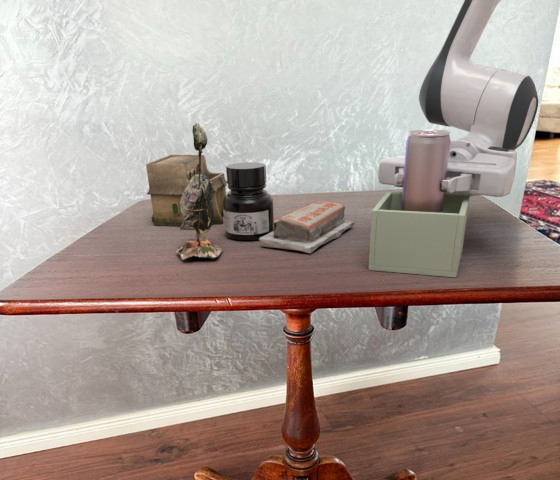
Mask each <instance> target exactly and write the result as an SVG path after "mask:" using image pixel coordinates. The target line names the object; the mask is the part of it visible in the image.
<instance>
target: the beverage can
mask: <svg viewBox="0 0 560 480" xmlns="http://www.w3.org/2000/svg"><path fill="white" fill-rule="evenodd" d="M451 141H452V140H451V131H449V130H445V129H416V130H410V131H408V133H407V139H406V142H405V152H404V153H405V154H404V155H405V165H404V178H403V187H402V190H401V192H402V203H401V211H417V212H437V213H442V210H443V201H444V193H445V192H441V187H442V185H441V183H442V180H443V179H445V178H446V176H447V167H448V159H449V150H450V142H451Z"/></svg>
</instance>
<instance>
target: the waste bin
mask: <svg viewBox="0 0 560 480" xmlns="http://www.w3.org/2000/svg"><path fill="white" fill-rule="evenodd" d="M470 198H471V196H470V195H455V194H444V201H443V210H442V213H437V212H417V211H401V203H402V191H387V192H386V193H385V194H384V195H383V196H382V198H381V199H380V200H379V201H378V203H376V205H375V206H374V207H372V209H371V212H370V213H371V215H370V231H369V250H368V251H369V252H368V255H369V256H368V271H375V272H386V273H398V274H409V275H421V276H431V277H432V276H433V277H443V278H444V277H445V278H454V279H456V278H457V277H458V276H457V275H458V271H459V267H460V263H461V258H462V253H463V249H464V241H465V234H466V227H467V221H468V220H467V219H468V215H469V214H468V212H469V205H470Z"/></svg>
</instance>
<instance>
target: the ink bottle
mask: <svg viewBox="0 0 560 480" xmlns="http://www.w3.org/2000/svg"><path fill="white" fill-rule="evenodd" d="M225 171H226V181H227V189H228V190H229V191H228V192H227V194H226V196H225V197H224V199H223V213H224V216H223V225H224V231H225V236H226V237H227V238H229V239H232V240H238V241H258V240H259V238H260V237H263V236H264V235H267V234H268V233H271V232H273V223H274V220H275V219H274V200H273V199H274V198H273V195H271V194H270V193H269V192H268V191H267V189H265V188H266V187H267V167H266V163H262V162H257V161H256V162H255V161H251V162H250V161H249V162H248V161H244V162H236V163H230V164H227V165H226V166H225Z"/></svg>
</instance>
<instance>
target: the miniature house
mask: <svg viewBox="0 0 560 480" xmlns="http://www.w3.org/2000/svg"><path fill="white" fill-rule="evenodd" d="M206 160H207V159H206V156H205V155H204V154H201V167H200V169H201V172H200V173H201V174H203V175H205V176H207V177H208V179H209V181H210V183H211V189H212V207H213V211H214V212H213V214H214V218H213V223H212V226H213V225H224V213H223V199H224V197H225V196H226V195H227V186H228V184H227V179H226V177H225V172H211V171H210V170H209V169H208V166H207V161H206ZM145 167H146V175H147V181H148V191H147V192H146V195H150V200H151V201H150V202H151V208H152V216H151V222H152V223H153V226H161V227H179V228H180V230H194V231H196V229H195V228H193V227H191V226H189V225H188V224H187V223H186V222H185V221H184V218H183V216H182V213H181V204H180V202H181V197H182V195H183V192H184V191H185V189H186V187H187V185H188V182H189V181H190V180H191V179H192V177H193V176H195V175H196V174H199V157H198V154H168V155H166V156H163V157H161V158H158V159H155V160H153V161H150V162H148V163H146V164H145ZM208 173H209V174H208Z"/></svg>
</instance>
